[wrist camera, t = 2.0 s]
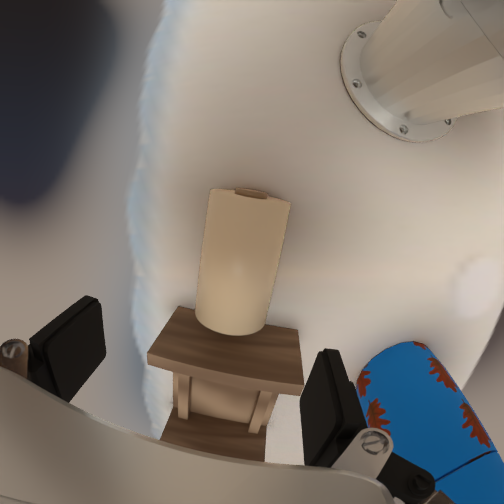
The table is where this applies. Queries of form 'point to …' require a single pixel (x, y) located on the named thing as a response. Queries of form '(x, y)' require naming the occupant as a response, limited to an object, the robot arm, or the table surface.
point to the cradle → (225, 384)
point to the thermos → (431, 423)
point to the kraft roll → (239, 259)
